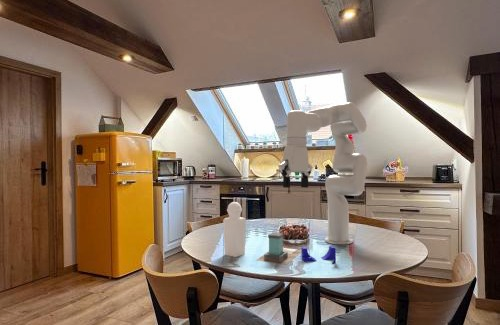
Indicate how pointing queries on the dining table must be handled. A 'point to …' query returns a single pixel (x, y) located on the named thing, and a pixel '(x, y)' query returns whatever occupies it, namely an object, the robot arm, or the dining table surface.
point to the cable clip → (329, 256)
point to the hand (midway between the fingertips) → (295, 187)
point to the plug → (275, 244)
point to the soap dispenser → (234, 231)
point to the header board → (281, 256)
